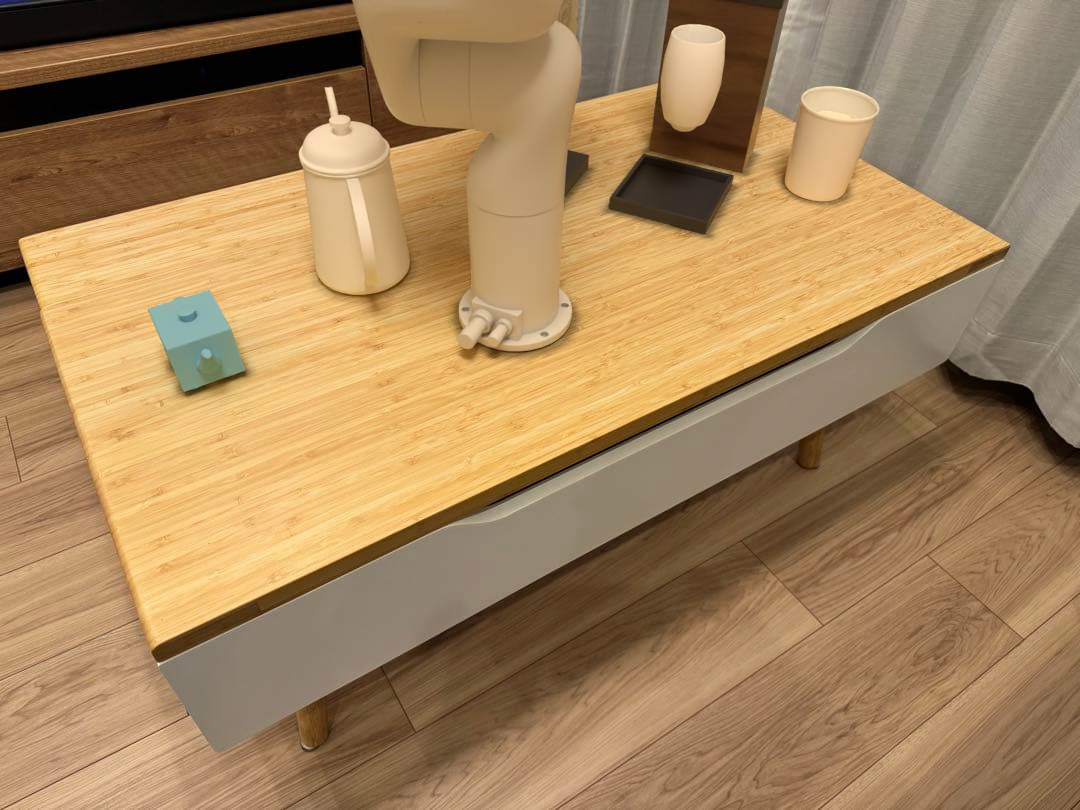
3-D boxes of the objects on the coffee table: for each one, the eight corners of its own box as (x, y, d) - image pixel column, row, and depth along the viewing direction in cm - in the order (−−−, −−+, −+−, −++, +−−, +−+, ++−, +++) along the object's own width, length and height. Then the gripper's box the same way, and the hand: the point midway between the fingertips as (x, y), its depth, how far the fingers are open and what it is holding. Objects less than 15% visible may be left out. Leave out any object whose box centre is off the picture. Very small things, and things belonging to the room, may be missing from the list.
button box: (553, 209, 102) (555, 182, 100) (486, 191, 105) (485, 164, 102) (588, 169, 110) (590, 142, 107) (524, 153, 113) (524, 127, 110)
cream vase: (654, 210, 102) (678, 47, 87) (638, 182, 107) (658, 24, 92) (707, 205, 103) (739, 44, 88) (688, 178, 108) (716, 21, 93)
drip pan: (705, 234, 99) (707, 222, 98) (608, 209, 103) (609, 197, 102) (731, 186, 108) (734, 174, 106) (641, 164, 111) (642, 153, 110)
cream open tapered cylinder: (807, 211, 104) (834, 125, 95) (764, 176, 110) (785, 92, 101) (865, 196, 107) (896, 112, 98) (820, 163, 113) (845, 81, 104)
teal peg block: (258, 397, 77) (239, 339, 72) (196, 420, 75) (171, 362, 69) (222, 329, 84) (202, 272, 79) (164, 348, 82) (139, 291, 76)
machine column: (743, 174, 110) (784, -5, 93) (647, 151, 114) (670, -25, 97) (753, 154, 114) (795, -21, 98) (660, 133, 118) (685, -39, 101)
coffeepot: (391, 207, 102) (372, 62, 88) (430, 325, 85) (415, 168, 72) (306, 219, 99) (274, 71, 86) (330, 343, 83) (294, 184, 69)
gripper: (548, -30, 81) (543, 135, 95) (600, -68, 91) (589, 86, 104) (484, -41, 83) (488, 122, 97) (542, -78, 93) (538, 75, 106)
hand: (541, 103), depth 100 cm, fingers closed
